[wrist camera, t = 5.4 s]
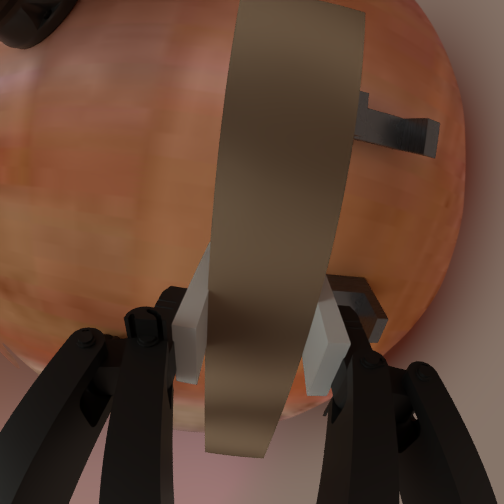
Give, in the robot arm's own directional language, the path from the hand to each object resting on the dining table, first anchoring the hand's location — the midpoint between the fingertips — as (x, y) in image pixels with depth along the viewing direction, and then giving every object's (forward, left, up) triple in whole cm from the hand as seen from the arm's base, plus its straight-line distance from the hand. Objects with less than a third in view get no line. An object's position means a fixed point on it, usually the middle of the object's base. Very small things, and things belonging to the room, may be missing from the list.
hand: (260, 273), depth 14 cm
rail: (0, 0, -1) cm, 1 cm away
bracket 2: (-9, +9, -15) cm, 20 cm away
